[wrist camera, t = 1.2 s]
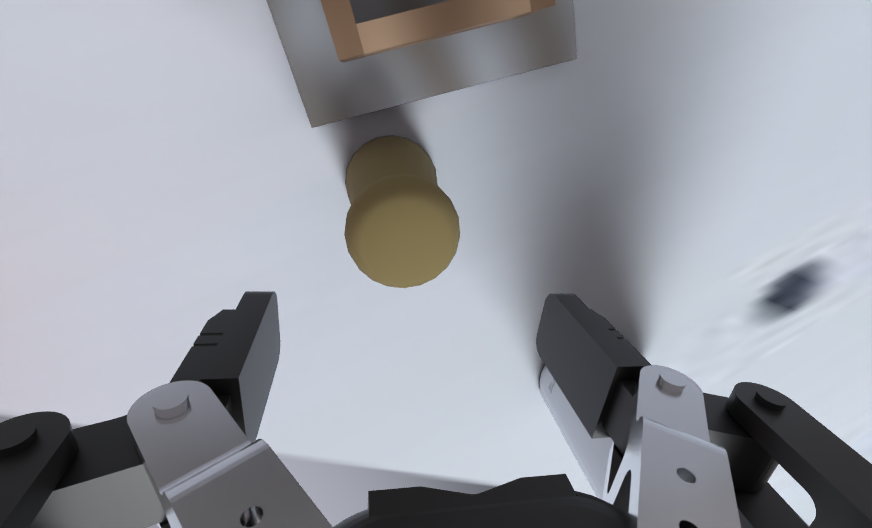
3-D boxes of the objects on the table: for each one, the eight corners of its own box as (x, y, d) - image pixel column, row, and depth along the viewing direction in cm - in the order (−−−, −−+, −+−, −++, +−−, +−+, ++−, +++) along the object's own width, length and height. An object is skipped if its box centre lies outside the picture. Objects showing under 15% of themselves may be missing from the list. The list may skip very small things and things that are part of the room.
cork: (419, 236, 29) (447, 321, 19) (334, 211, 27) (316, 290, 17) (450, 154, 26) (499, 201, 17) (360, 121, 25) (355, 152, 15)
